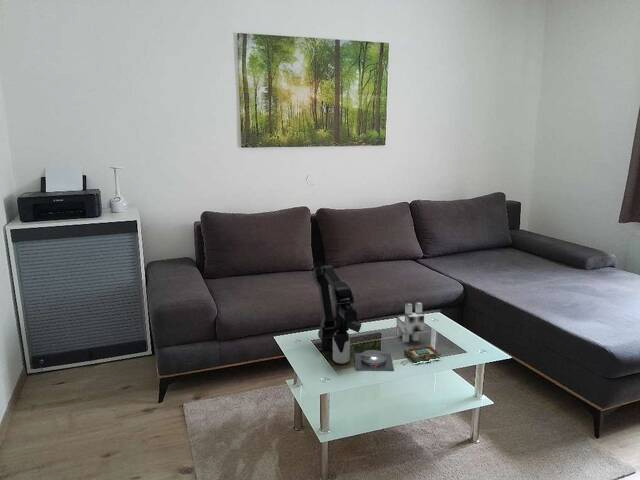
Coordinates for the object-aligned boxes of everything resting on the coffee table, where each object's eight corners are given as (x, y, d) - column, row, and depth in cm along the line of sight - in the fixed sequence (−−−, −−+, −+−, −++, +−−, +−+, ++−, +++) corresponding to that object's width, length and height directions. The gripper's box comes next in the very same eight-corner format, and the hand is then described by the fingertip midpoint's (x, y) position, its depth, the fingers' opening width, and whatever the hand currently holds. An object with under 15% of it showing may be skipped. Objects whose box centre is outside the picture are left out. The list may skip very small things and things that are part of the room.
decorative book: (393, 357, 218) (393, 346, 217) (428, 352, 223) (428, 342, 222) (406, 370, 205) (407, 359, 204) (443, 364, 210) (444, 353, 209)
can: (348, 365, 208) (348, 338, 205) (331, 363, 209) (331, 337, 207) (351, 357, 215) (351, 332, 213) (334, 356, 216) (334, 330, 214)
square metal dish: (355, 370, 205) (355, 362, 204) (354, 355, 219) (354, 347, 219) (393, 370, 204) (394, 363, 203) (390, 355, 219) (390, 348, 218)
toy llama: (408, 332, 245) (409, 294, 241) (423, 346, 229) (424, 305, 225) (394, 333, 244) (395, 295, 240) (408, 347, 227) (409, 306, 223)
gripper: (361, 322, 198) (360, 358, 202) (359, 307, 217) (359, 340, 220) (333, 322, 199) (333, 357, 202) (334, 307, 217) (334, 340, 220)
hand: (341, 348), depth 211 cm, fingers closed on can, 7 cm apart
